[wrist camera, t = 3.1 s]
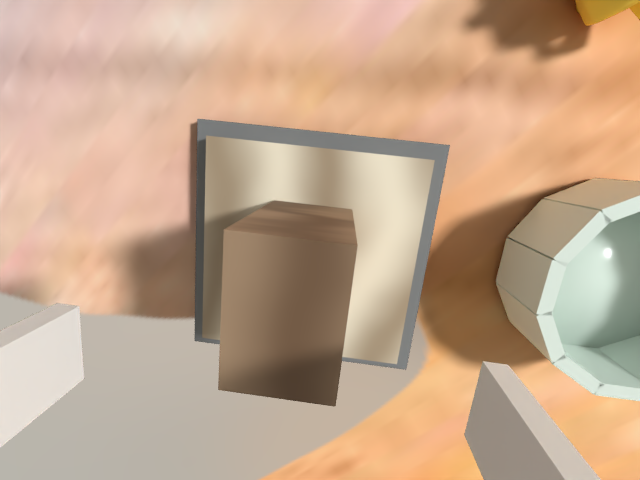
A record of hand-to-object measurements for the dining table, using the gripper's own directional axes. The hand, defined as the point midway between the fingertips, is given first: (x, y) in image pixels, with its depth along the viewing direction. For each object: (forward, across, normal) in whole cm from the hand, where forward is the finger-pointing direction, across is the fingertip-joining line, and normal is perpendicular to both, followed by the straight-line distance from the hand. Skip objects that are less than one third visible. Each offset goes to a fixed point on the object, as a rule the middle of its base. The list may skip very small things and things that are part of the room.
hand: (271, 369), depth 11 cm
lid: (+12, 0, 0) cm, 13 cm away
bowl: (+13, +19, +2) cm, 23 cm away
